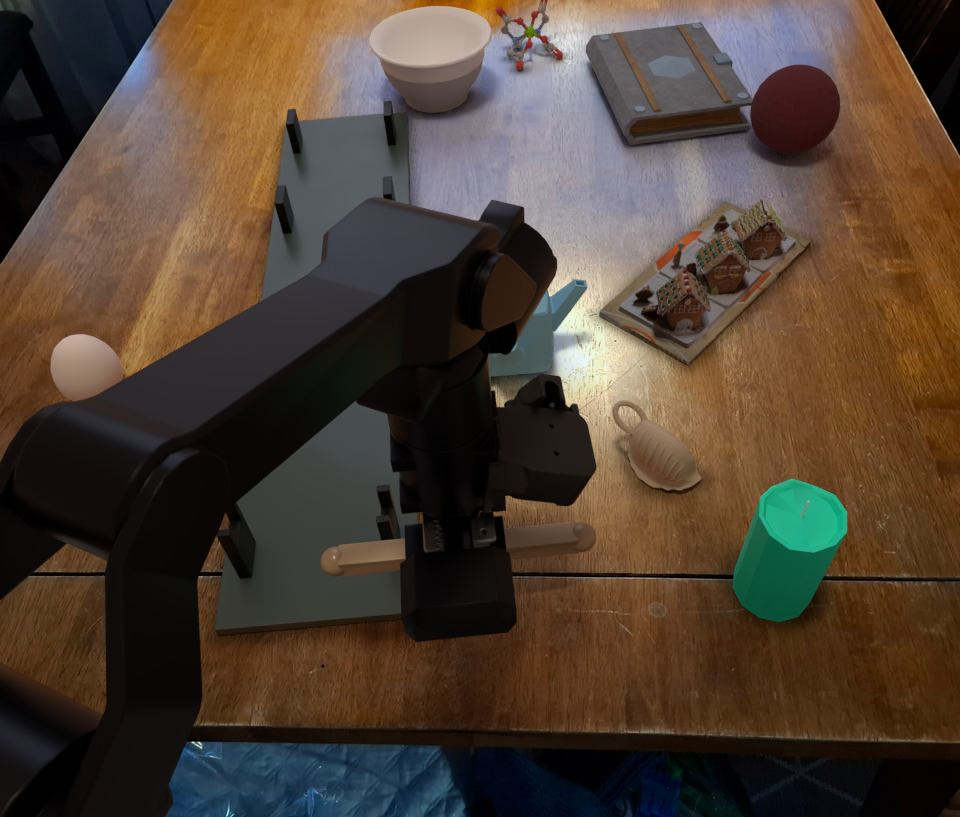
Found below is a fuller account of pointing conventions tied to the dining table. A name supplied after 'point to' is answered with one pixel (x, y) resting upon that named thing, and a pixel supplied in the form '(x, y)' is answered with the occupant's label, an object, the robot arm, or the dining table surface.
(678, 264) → the gingerbread house
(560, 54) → the molecular model
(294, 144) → the rack
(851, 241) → the dining table surface
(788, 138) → the decorative ball
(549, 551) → the beige rounded rod
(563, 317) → the teapot
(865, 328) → the dining table surface
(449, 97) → the bowl
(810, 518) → the candle
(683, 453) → the decorative ornament
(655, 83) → the book
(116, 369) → the egg
